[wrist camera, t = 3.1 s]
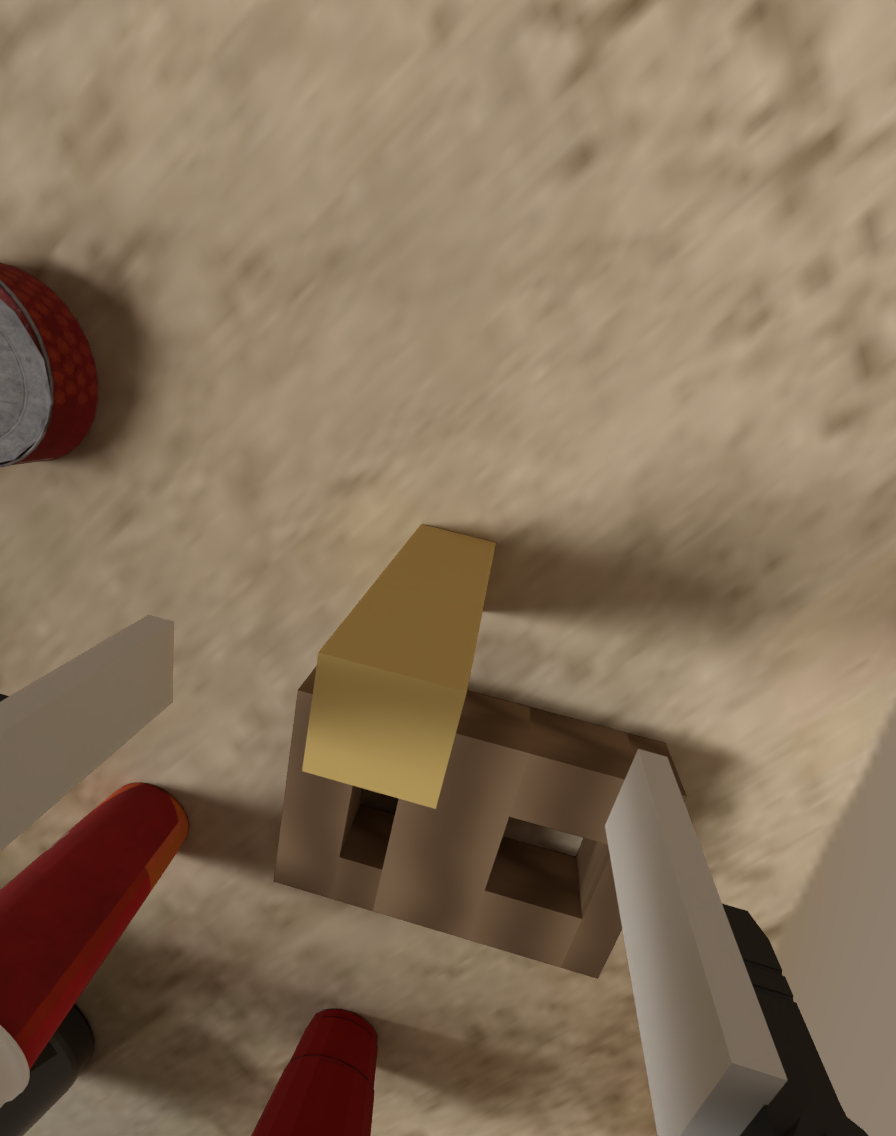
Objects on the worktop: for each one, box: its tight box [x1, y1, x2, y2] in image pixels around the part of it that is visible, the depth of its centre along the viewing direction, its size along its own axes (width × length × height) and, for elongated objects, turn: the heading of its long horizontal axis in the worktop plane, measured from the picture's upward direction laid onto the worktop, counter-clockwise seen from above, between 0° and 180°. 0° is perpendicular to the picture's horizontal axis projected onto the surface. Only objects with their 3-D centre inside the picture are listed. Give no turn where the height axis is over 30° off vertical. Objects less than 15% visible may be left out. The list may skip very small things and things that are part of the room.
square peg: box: [302, 524, 496, 809], centre depth 20 cm, size 4×4×14 cm
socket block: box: [274, 666, 687, 979], centre depth 30 cm, size 20×14×4 cm
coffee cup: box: [0, 783, 189, 1108], centre depth 29 cm, size 8×8×15 cm
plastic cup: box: [251, 1009, 378, 1136], centre depth 35 cm, size 11×11×12 cm
